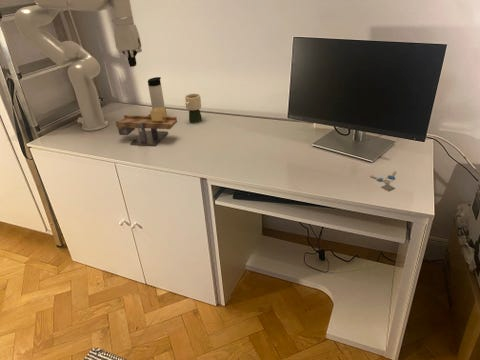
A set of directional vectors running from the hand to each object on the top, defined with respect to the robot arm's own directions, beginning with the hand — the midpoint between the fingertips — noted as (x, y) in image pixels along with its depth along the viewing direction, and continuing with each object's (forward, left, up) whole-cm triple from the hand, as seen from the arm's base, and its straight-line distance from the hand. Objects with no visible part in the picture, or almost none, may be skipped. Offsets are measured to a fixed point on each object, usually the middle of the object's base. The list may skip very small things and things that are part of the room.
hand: (133, 65), depth 166 cm
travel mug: (+2, +14, -29) cm, 33 cm away
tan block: (+16, -14, -21) cm, 30 cm away
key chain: (+106, -38, -30) cm, 116 cm away
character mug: (+23, +9, -29) cm, 38 cm away
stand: (+9, -14, -29) cm, 34 cm away
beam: (+9, -14, -26) cm, 31 cm away
